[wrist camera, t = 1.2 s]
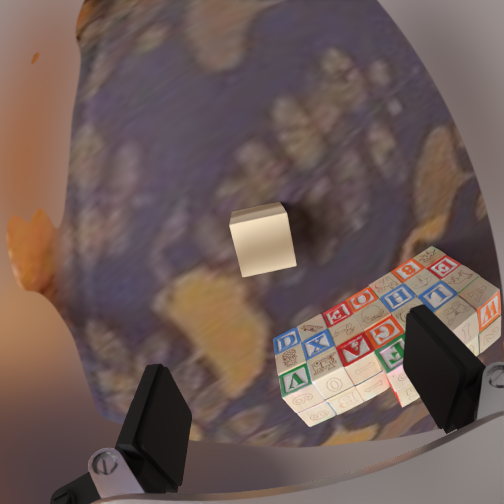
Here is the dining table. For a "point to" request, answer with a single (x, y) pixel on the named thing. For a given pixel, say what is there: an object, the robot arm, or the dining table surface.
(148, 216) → the dining table surface
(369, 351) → the stack of blocks
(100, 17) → the dining table surface
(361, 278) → the dining table surface
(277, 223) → the tan metal block
